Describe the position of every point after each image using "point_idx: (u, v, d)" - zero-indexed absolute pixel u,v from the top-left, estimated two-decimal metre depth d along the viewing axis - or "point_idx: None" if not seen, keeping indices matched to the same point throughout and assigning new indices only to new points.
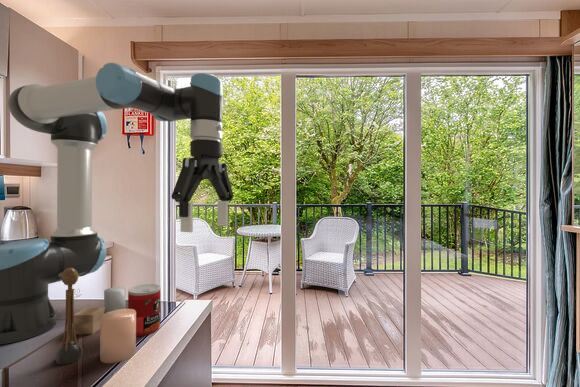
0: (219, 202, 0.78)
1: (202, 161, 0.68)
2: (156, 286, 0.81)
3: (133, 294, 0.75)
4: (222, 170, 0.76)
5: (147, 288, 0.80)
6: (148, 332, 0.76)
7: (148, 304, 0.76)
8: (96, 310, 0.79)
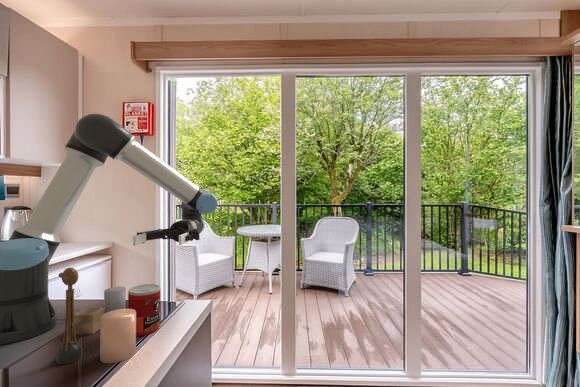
0: (145, 235, 0.94)
1: None
2: (156, 286, 0.81)
3: (133, 294, 0.75)
4: None
5: (147, 288, 0.80)
6: (148, 332, 0.76)
7: (148, 304, 0.76)
8: (96, 310, 0.79)
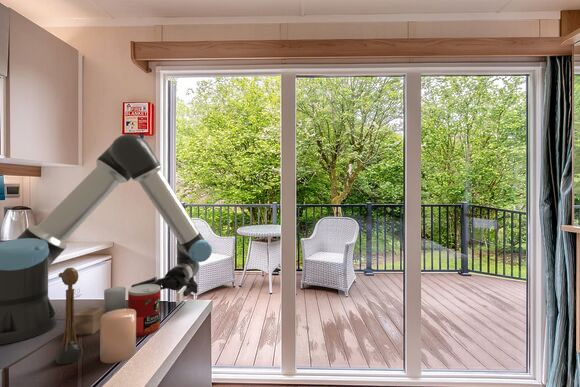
0: None
1: None
2: (156, 286, 0.81)
3: (133, 294, 0.75)
4: None
5: (147, 288, 0.80)
6: (148, 332, 0.76)
7: (148, 304, 0.76)
8: (96, 310, 0.79)
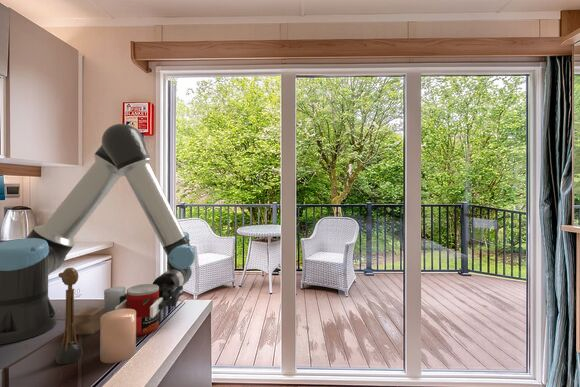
0: None
1: None
2: (154, 286, 0.81)
3: (131, 294, 0.75)
4: None
5: (145, 288, 0.80)
6: (146, 332, 0.76)
7: (146, 304, 0.76)
8: (96, 310, 0.79)
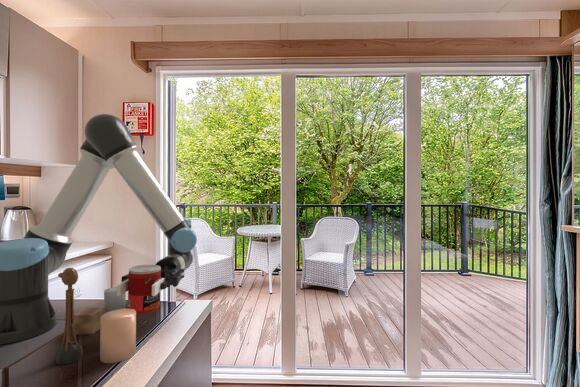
0: None
1: None
2: (157, 266, 0.81)
3: (133, 273, 0.75)
4: None
5: (148, 268, 0.80)
6: (147, 311, 0.76)
7: (148, 283, 0.76)
8: (96, 310, 0.79)
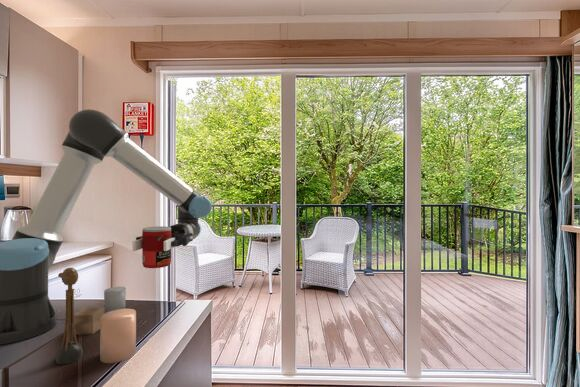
0: None
1: None
2: (167, 227, 0.89)
3: (146, 231, 0.83)
4: None
5: (159, 228, 0.88)
6: (160, 266, 0.84)
7: (160, 240, 0.84)
8: (96, 310, 0.79)
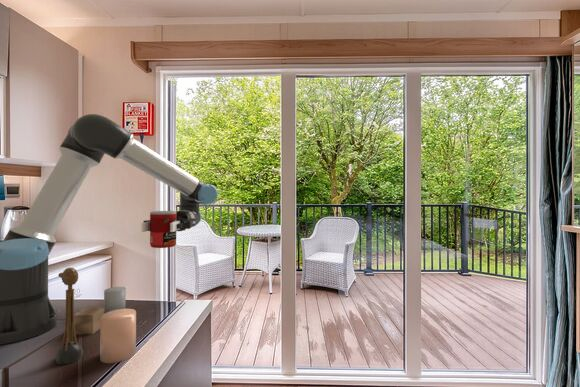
0: None
1: None
2: (173, 211, 0.96)
3: (154, 213, 0.91)
4: None
5: None
6: (167, 246, 0.91)
7: (166, 222, 0.91)
8: (96, 310, 0.79)
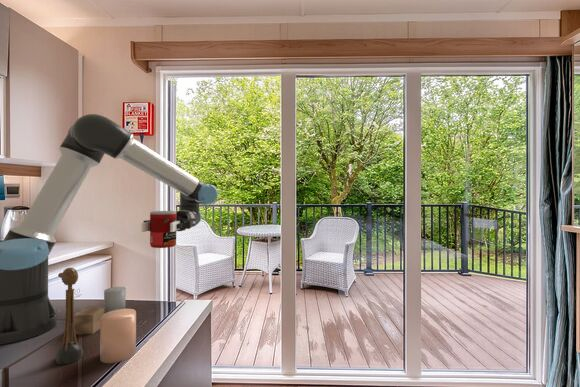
0: None
1: None
2: (173, 211, 0.96)
3: (154, 213, 0.91)
4: None
5: None
6: (167, 246, 0.91)
7: (166, 222, 0.91)
8: (96, 310, 0.79)
